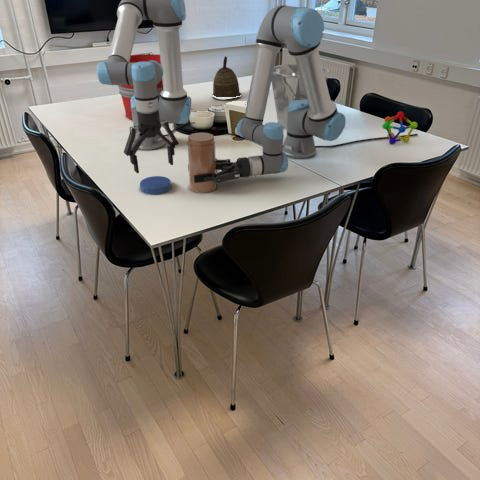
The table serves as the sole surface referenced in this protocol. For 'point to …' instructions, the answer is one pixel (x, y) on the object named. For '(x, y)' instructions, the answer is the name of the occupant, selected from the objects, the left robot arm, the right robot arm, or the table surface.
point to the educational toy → (398, 128)
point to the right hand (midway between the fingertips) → (191, 173)
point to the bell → (225, 82)
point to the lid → (155, 185)
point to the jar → (201, 160)
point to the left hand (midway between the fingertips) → (154, 167)
